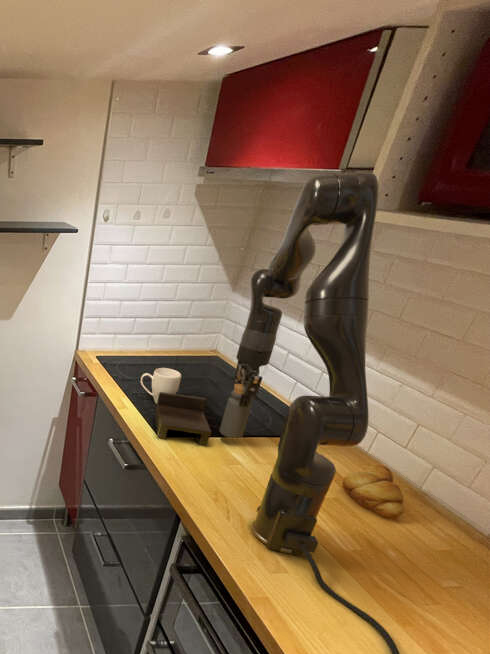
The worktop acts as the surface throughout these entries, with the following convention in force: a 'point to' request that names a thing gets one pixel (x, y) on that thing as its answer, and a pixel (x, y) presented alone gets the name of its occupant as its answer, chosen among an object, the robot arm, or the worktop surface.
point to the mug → (163, 382)
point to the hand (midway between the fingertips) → (240, 401)
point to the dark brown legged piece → (181, 416)
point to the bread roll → (375, 490)
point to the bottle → (235, 415)
